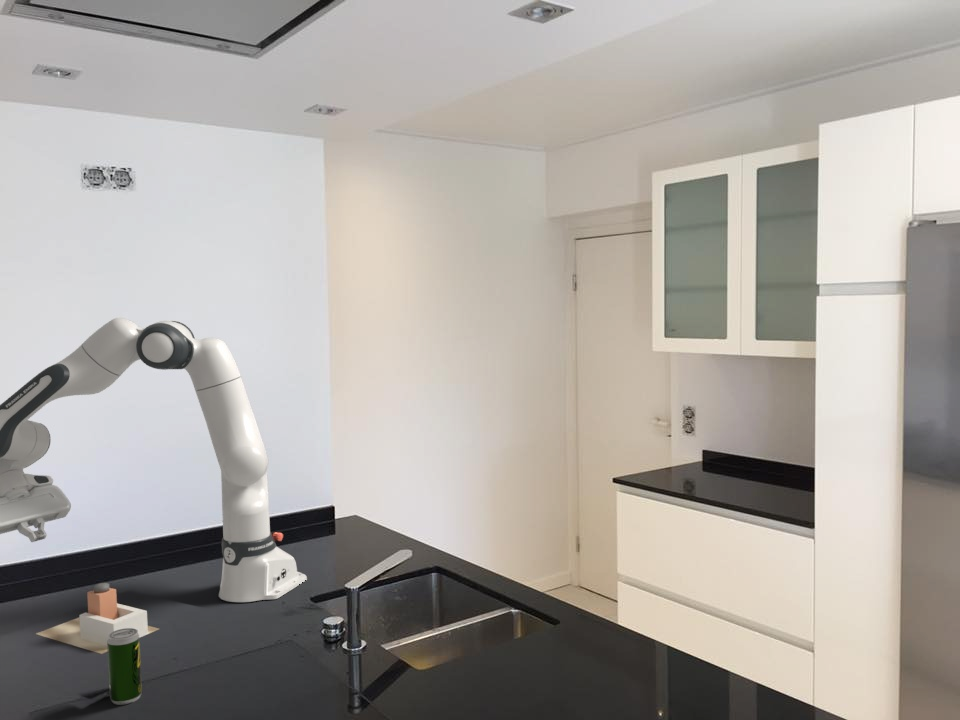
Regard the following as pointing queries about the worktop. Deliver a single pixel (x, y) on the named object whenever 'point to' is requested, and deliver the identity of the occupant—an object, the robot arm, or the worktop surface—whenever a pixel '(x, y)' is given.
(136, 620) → the socket
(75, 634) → the base board
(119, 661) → the beer can
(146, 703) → the worktop surface
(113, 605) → the plug
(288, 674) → the worktop surface
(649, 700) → the worktop surface
